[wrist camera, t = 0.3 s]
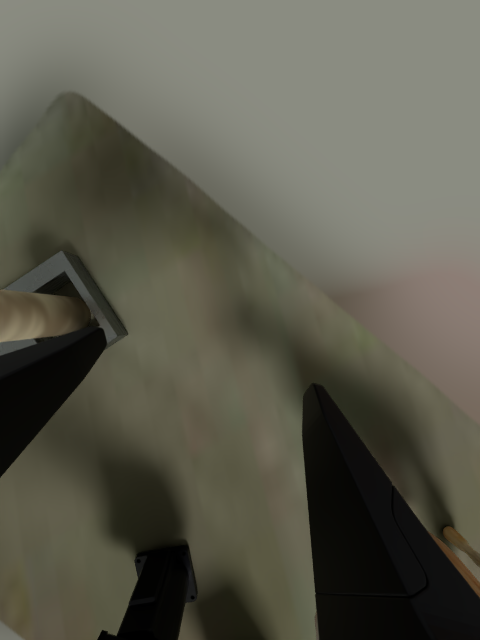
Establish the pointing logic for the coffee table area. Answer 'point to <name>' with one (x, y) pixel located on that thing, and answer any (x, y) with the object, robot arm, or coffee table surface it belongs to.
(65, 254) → the board with square holes
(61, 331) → the peg
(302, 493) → the coffee table surface
